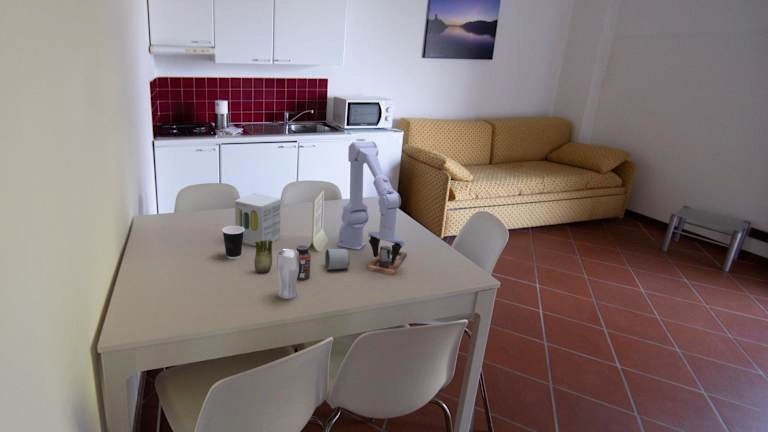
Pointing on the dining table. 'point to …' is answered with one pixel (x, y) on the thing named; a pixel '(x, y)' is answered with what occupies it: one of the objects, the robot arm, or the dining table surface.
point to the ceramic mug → (337, 259)
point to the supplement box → (258, 218)
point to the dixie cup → (233, 241)
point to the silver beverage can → (287, 272)
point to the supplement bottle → (303, 262)
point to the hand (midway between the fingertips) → (384, 258)
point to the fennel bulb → (263, 256)
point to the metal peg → (384, 257)
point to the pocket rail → (395, 264)
